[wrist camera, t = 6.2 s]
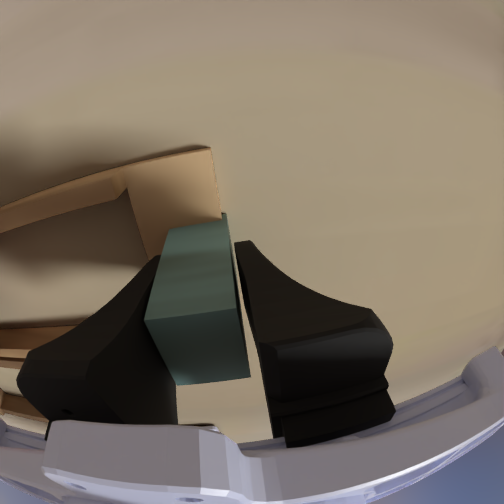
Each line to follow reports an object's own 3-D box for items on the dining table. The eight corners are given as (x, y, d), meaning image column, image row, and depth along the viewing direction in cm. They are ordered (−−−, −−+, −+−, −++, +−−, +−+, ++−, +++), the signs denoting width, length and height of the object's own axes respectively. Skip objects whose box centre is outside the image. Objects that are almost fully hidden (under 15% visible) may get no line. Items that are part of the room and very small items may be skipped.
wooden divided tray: (244, 316, 15) (259, 416, 10) (-7, 337, 14) (-36, 394, 9) (215, 146, 11) (215, 193, 5) (-61, 237, 10) (-110, 287, 5)
